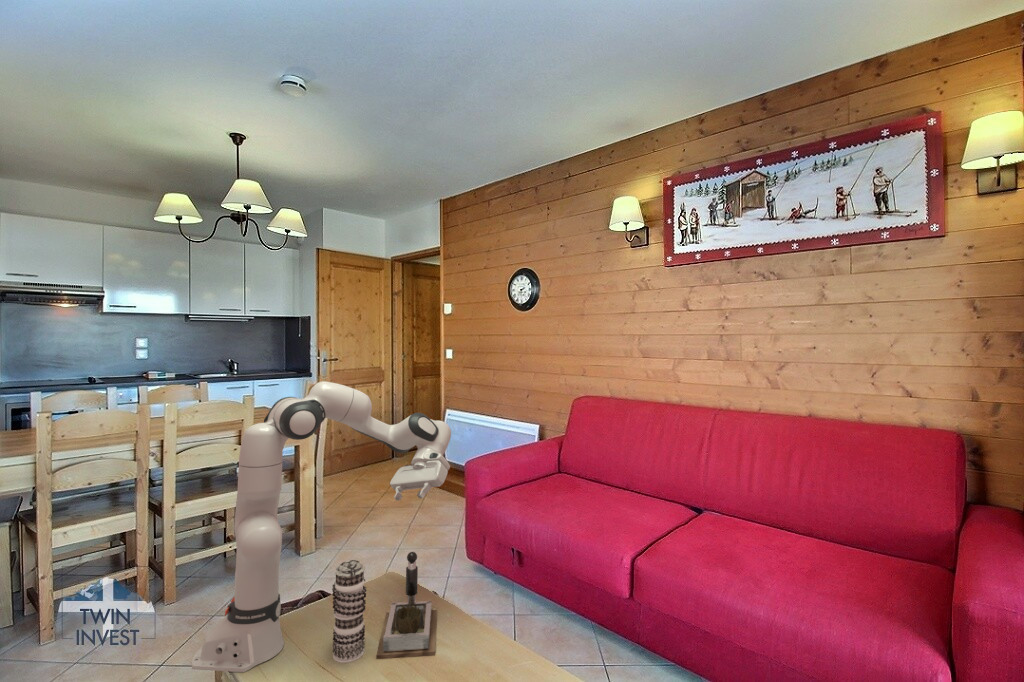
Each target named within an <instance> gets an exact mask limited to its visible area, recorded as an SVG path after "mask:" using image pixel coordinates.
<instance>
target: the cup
mask: <svg viewBox="0 0 1024 682" xmlns="http://www.w3.org/2000/svg"><path fill="white" fill-rule="evenodd" d="M420 619H421V609H420V610H419V607H418V609H417V607H416V606H413V605H412V606H411V607H410V608H409V605H408V606H407V608H405V606H402V607H401V609H400V608H399V609H398V613H396V622H397V629H398V630H397V631H398V634H407V633H418V631H419V630H420V629H419V625H420Z"/></svg>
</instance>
